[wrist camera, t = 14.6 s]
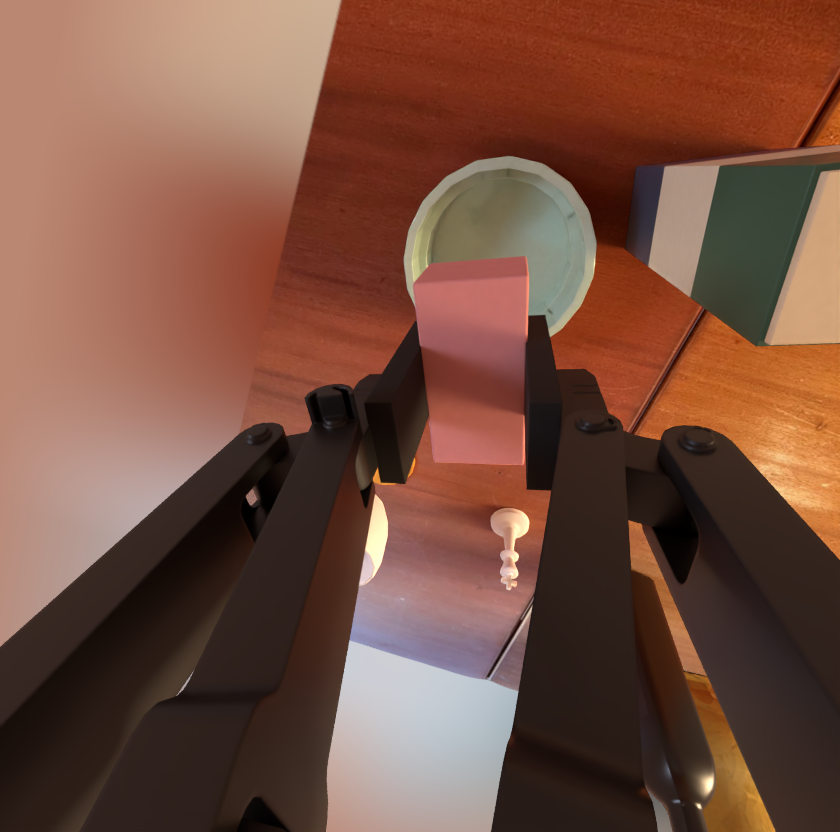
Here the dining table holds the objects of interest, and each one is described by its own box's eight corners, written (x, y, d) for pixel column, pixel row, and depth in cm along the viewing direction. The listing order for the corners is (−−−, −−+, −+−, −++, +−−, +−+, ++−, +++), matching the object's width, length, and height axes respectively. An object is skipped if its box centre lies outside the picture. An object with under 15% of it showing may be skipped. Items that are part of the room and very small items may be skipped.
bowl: (409, 171, 34) (392, 172, 29) (592, 146, 31) (607, 142, 26) (427, 334, 41) (415, 357, 36) (576, 328, 38) (585, 352, 33)
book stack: (636, 166, 31) (815, 164, 12) (773, 149, 29) (1229, 117, 10) (624, 249, 34) (755, 346, 16) (748, 239, 32) (1067, 337, 13)
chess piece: (497, 503, 51) (493, 568, 43) (534, 514, 51) (538, 582, 43) (485, 528, 54) (480, 594, 46) (521, 539, 54) (523, 607, 45)
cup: (358, 414, 48) (299, 509, 35) (426, 446, 49) (393, 553, 35) (337, 465, 53) (278, 565, 40) (399, 494, 54) (361, 602, 40)
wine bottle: (657, 578, 53) (787, 953, 27) (630, 601, 56) (725, 955, 31) (617, 562, 52) (712, 924, 27) (592, 585, 56) (657, 929, 30)
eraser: (429, 263, 15) (411, 283, 12) (526, 255, 14) (529, 275, 12) (444, 422, 18) (433, 463, 16) (523, 423, 18) (524, 466, 15)
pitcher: (703, 734, 68) (780, 979, 47) (597, 692, 70) (624, 910, 49) (775, 688, 59) (910, 965, 38) (651, 640, 61) (714, 881, 40)
